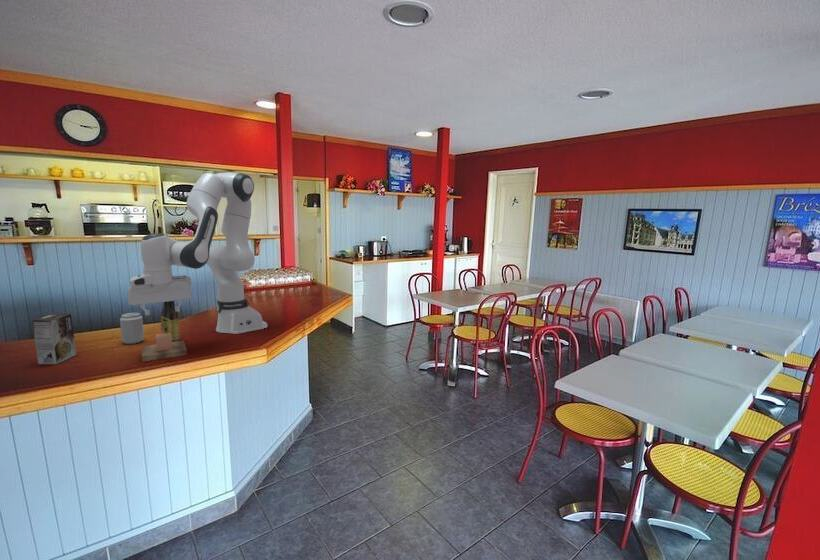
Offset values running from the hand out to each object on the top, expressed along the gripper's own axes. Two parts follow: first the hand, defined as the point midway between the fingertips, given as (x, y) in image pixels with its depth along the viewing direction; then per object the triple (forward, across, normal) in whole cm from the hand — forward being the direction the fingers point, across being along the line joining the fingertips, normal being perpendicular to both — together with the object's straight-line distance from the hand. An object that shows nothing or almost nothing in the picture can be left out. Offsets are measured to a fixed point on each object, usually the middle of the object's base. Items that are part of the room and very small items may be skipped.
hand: (162, 313), depth 144 cm
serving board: (+16, +1, +1) cm, 16 cm away
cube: (+14, +1, +1) cm, 14 cm away
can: (+16, +11, -20) cm, 28 cm away
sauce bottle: (+16, -2, -12) cm, 20 cm away
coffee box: (+15, +33, -10) cm, 38 cm away
